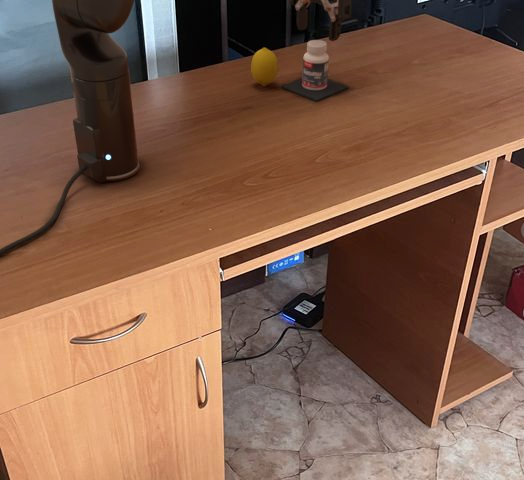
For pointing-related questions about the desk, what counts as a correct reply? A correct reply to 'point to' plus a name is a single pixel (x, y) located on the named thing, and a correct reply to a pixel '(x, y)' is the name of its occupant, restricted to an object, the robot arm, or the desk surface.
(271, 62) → the lemon
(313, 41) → the pill bottle
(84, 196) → the desk surface
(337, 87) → the coaster
